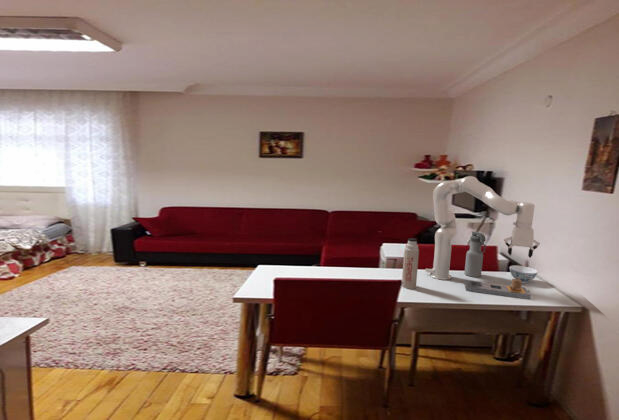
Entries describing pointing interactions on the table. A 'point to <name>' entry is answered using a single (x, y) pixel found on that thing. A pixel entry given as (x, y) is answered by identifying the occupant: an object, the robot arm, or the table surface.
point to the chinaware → (523, 273)
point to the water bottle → (475, 255)
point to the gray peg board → (495, 289)
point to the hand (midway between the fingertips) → (519, 255)
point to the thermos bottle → (410, 264)
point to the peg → (516, 285)
